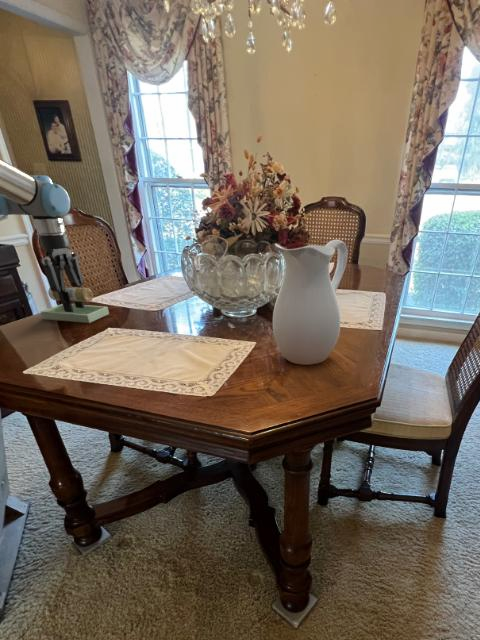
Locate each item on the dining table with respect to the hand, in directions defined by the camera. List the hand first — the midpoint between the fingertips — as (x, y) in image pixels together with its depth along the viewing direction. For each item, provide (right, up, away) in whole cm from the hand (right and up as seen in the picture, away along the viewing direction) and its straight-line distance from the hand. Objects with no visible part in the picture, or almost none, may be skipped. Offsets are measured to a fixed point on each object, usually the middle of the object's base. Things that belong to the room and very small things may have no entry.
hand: (74, 309), depth 127 cm
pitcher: (+79, -18, -25) cm, 85 cm away
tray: (0, -2, +1) cm, 2 cm away
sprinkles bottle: (+7, +4, -4) cm, 9 cm away
